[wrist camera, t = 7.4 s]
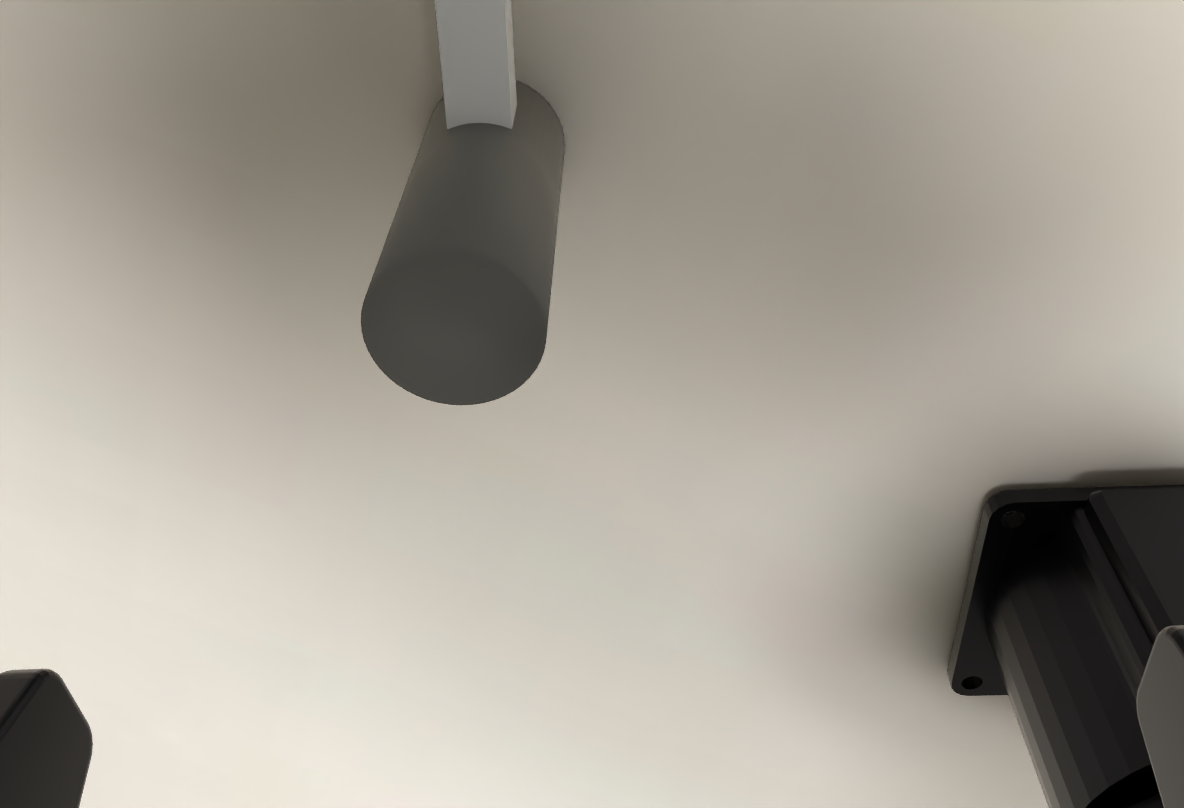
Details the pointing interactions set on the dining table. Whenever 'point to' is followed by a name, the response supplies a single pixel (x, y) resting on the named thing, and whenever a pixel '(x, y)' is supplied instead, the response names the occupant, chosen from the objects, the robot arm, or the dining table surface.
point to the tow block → (471, 225)
